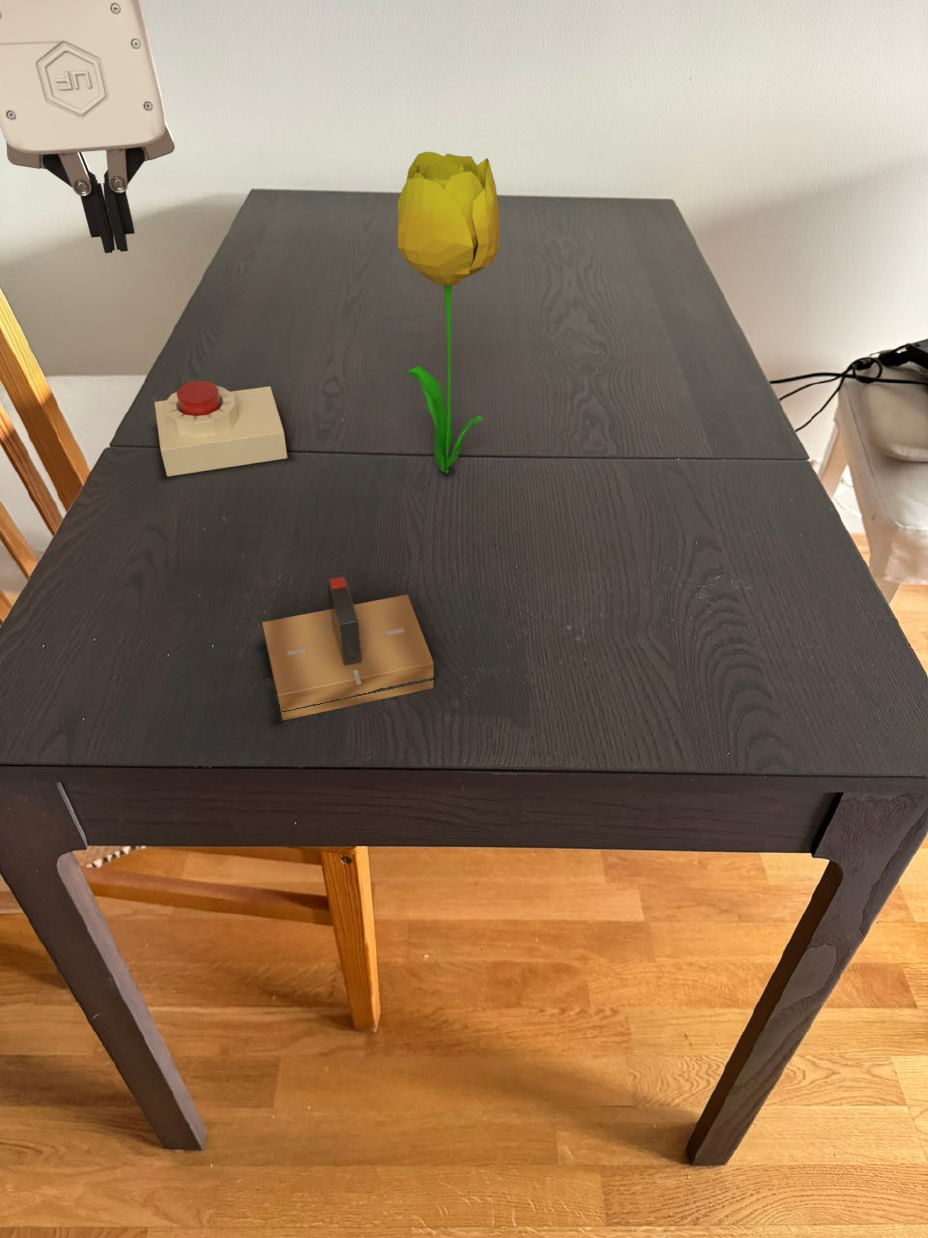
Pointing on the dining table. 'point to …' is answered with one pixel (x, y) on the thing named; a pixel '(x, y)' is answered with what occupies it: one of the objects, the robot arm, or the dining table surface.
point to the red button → (198, 398)
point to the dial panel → (315, 663)
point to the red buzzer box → (221, 432)
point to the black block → (344, 621)
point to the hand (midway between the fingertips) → (115, 244)
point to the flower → (447, 251)
